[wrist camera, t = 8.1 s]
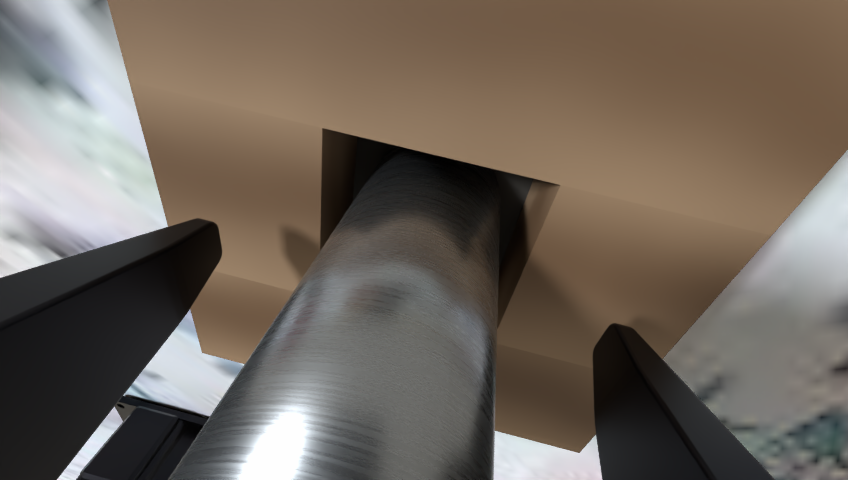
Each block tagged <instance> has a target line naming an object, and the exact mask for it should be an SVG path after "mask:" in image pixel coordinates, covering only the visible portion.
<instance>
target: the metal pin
mask: <svg viewBox="0 0 848 480" xmlns="http://www.w3.org/2000/svg"><path fill="white" fill-rule="evenodd" d="M500 200H501V199H500V188H499V184H498V181H497V178H496V175H495V173H494V172H493V170H492V168H487V167H483V166H479V165H475V164H471V163H467V162H462V161H458V160H454V159H450V158H446V157H442V156H437V155H433V154H429V153H425V152H421V151H416V150H412V149H408V148H404V147H400V146H395V147H393V148H392V149H391V150H389V151H388V152H387V153H386V154H385V155H384V156H383V158H382V159H381V161H380V162H379V163H378V165H377V166H376V168H375V169H374V171H373V172H372V174H371V175H370V177H369V178H368V180H367V181H366V183H365V184H364V186H363V187H362V189H361V190H360V192H359V193H358V195H357V196H356V198H355V199H354V201H353V202H352V204H351V205H350V207H349V208H348V210H347V211H346V213H345V214H344V216H343V217H342V219H341V220H340V222H339V223H338V225H337V227H336V228H335V230H334V231H333V233H332V234H331V236H330V237H329V239H328V240H327V242H326V243H325V245H324V246H323V248H322V249H321V251H320V252H319V254H318V255H317V257H316V258H315V260H314V261H313V263H312V264H311V266H310V267H309V269H308V270H307V272H306V273H305V275H304V276H303V278H302V279H301V281H300V282H299V284H298V285H297V287H296V288H295V290H294V291H293V293H292V294H291V296H290V297H289V299H288V300H287V302H286V303H285V305H284V306H283V308H282V309H281V311H280V312H279V314H278V315H277V317H276V318H275V320H274V321H273V323H272V324H271V326H270V327H269V329H268V330H267V332H266V333H265V335H264V336H263V338H262V339H261V341H260V342H259V344H258V345H257V347H256V348H255V350H254V351H253V353H252V354H251V356H250V357H249V359H248V360H247V362H246V363H245V365H244V366H243V368H242V369H241V371H240V372H239V374H238V375H237V377H236V378H235V380H234V381H233V383H232V384H231V386H230V387H229V389H228V390H227V392H226V393H225V395H224V396H223V398H222V399H221V401H220V402H219V404H218V405H217V407H216V408H215V410H214V411H213V413H212V414H211V416H210V417H209V419H208V420H207V422H206V423H205V425H204V426H203V428H202V429H201V431H200V432H199V434H198V435H197V437H196V438H195V440H194V441H193V443H192V444H191V446H190V447H189V449H188V450H187V452H186V453H185V455H184V456H183V458H182V459H181V461H180V462H179V464H178V465H177V467H176V468H175V470H174V471H173V473H172V474H171V476H170V477H169V479H168V480H493V475H494V436H495V397H496V358H497V318H498V279H499V240H500Z"/></svg>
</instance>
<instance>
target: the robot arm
mask: <svg viewBox="0 0 848 480" xmlns="http://www.w3.org/2000/svg"><path fill="white" fill-rule="evenodd" d="M221 257H222V245H221V239H220V233H219V228H218V225H217V224H216V223H215V222H213V221H209V220H205V219H200V218H196V219H192V220H189V221H185V222H182V223H179V224H176V225H172V226H169V227H166V228H163V229H159V230H156V231H153V232H149V233H146V234H143V235H140V236H136V237H133V238H130V239H126V240H123V241H120V242H117V243H113V244H110V245H107V246H103V247H100V248H97V249H94V250H90V251H87V252H84V253H81V254H77V255H74V256H71V257H67V258H64V259H61V260H58V261H54V262H51V263H48V264H44V265H41V266H38V267H35V268H31V269H28V270H25V271H21V272H18V273H15V274H12V275H8V276H5V277H2V278H0V480H57V479H58V478H59V476H60V475H61V474H62V472H63V471H64V470H65V469H66V467H67V466H68V465H69V464H70V462H71V461H72V460H73V458H74V457H75V456H76V455H77V453H78V452H79V451H80V450H81V448H82V447H83V446H84V444H85V443H86V442H87V441H88V439H89V438H90V437H91V436H92V434H93V433H94V432H95V430H96V429H97V428H98V427H99V425H100V424H101V423H102V421H103V420H104V419H105V418H106V416H107V415H108V414H109V413H110V411H111V410H112V409H113V407H114V406H115V408H116V409H117V411H118V413H119V415H120V417H121V418H122V420H123V423H122V424H121V425H120V426H119V427H118V429H117V430H116V431H115V432H114V433H113V434H112V436H111V437H110V438H109V439H108V440H107V441H106V443H105V444H104V445H103V446H102V447H101V449H100V450H99V451H98V452H97V453H96V454H95V456H94V457H93V458H92V459H91V460H90V462H89V463H88V464H87V465H86V466H85V467H84V469H83V470H82V471H81V473H80V475H79V476H78V478H77V479H76V480H168V479H169V477H170V476H171V474H172V473H173V471H174V470H175V468H176V467H177V465H178V464H179V462H180V461H181V459H182V458H183V456H184V455H185V453H186V452H187V450H188V449H189V447H190V446H191V444H192V443H193V441H194V440H195V438H196V437H197V435H198V434H199V432H200V431H201V429H202V428H203V426H204V425H205V423H206V422H207V420H208V419H205V418H202V417H198V416H195V415H191V414H187V413H184V412H180V411H176V410H173V409H169V408H165V407H162V406H158V405H154V404H151V403H147V402H143V401H140V400H136V399H132V398H129V397H125V396H123V395H124V393H125V392H126V391H127V390H128V388H129V387H130V386H131V385H132V383H133V382H134V381H135V379H136V378H137V377H138V376H139V374H140V373H141V372H142V371H143V369H144V368H145V367H146V365H147V364H148V363H149V362H150V360H151V359H152V358H153V357H154V355H155V354H156V353H157V351H158V350H159V349H160V348H161V346H162V345H163V344H164V342H165V341H166V340H167V339H168V337H169V336H170V335H171V334H172V332H173V331H174V330H175V328H176V327H177V326H178V325H179V323H180V322H181V321H182V319H183V318H184V317H185V315H186V314H187V312H188V311H189V309H190V308H191V306H192V305H193V303H194V302H195V300H196V299H197V297H198V295H199V294H200V292H201V290H202V289H203V287H204V286H205V284H206V282H207V281H208V279H209V278H210V276H211V274H212V273H213V271H214V270H215V268H216V266H217V265H218V263H219V262H220V260H221ZM593 393H594V420H595V429H596V437H597V444H598V451H599V458H600V465H601V472H602V479H603V480H775V479H774V478H773V477H772V476H771V475H770V474H769V473H768V472H767V471H766V470H765V469H764V467H763V466H762V465H761V464H760V463H759V462H758V461H757V460H756V459H755V458H754V457H753V456H752V455H751V454H750V453H749V451H748V450H747V449H746V448H745V447H744V446H743V445H742V444H741V443H740V442H739V441H738V440H737V439H736V438H735V436H734V435H733V434H732V433H731V432H730V431H729V430H728V429H727V428H726V427H725V426H724V425H723V424H722V423H721V421H720V420H719V419H718V418H717V417H716V416H715V415H714V414H713V413H712V412H711V411H710V410H709V409H708V408H707V406H706V405H705V404H704V403H703V402H702V401H701V400H700V399H699V398H698V397H697V396H696V395H695V394H694V393H693V392H692V390H691V389H690V388H689V387H688V386H687V385H686V384H685V383H684V382H683V381H682V380H681V379H680V378H679V377H678V375H677V374H676V373H675V372H674V371H673V370H672V369H671V368H670V367H669V366H668V365H667V364H666V363H665V362H664V360H663V359H662V358H661V357H660V356H659V355H658V354H657V353H656V352H655V351H654V350H653V349H652V348H651V347H650V345H649V344H648V343H647V342H646V341H645V340H644V339H643V338H642V337H641V336H640V335H639V334H638V333H637V332H636V331H635V330H634V329H633V328H632V327H629V326H626V325H622V324H618V323H612V324H610V325H609V326H608V328H607V329H606V331H605V332H604V333H603V335H602V336H601V338H600V339H599V341H598V342H597V344H596V345H595V347H594V350H593Z"/></svg>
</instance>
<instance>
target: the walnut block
mask: <svg viewBox="0 0 848 480" xmlns="http://www.w3.org/2000/svg"><path fill="white" fill-rule="evenodd" d="M108 4H109V8H110V12H111V15H112V19H113V23H114V26H115V30H116V34H117V38H118V41H119V45H120V49H121V53H122V56H123V60H124V64H125V67H126V71H127V75H128V79H129V82H130V86H131V90H132V93H133V97H134V101H135V105H136V108H137V112H138V116H139V120H140V123H141V127H142V131H143V134H144V138H145V142H146V146H147V149H148V153H149V157H150V160H151V164H152V168H153V172H154V175H155V179H156V183H157V187H158V190H159V194H160V198H161V201H162V205H163V209H164V213H165V216H166V220H167V224H168V227H169V226H172V225H176V224H179V223H182V222H185V221H189V220H192V219H196V218H200V219H205V220H209V221H213V222H215V223H216V224H217V225H218V228H219V233H220V239H221V245H222V257H221V260H220V262H219V263H218V265H217V266H216V268H215V270H214V271H213V273H212V274H211V276H210V278H209V279H208V281H207V282H206V284H205V286H204V287H203V289H202V290H201V292H200V294H199V295H198V297H197V299H196V300H195V302H194V303H193V305H192V306H191V308H190V309H191V313H192V317H193V321H194V324H195V328H196V332H197V335H198V339H199V343H200V347H201V350H202V353H205V354H209V355H213V356H216V357H220V358H224V359H228V360H231V361H235V362H239V363H243V364H245V363H246V362H247V360H248V359H249V357H250V356H251V354H252V353H253V351H254V350H255V348H256V347H257V345H258V344H259V342H260V341H261V339H262V338H263V336H264V335H265V333H266V332H267V330H268V329H269V327H270V326H271V324H272V323H273V321H274V320H275V318H276V317H277V315H278V314H279V312H280V311H281V309H282V308H283V306H284V305H285V303H286V302H287V300H288V299H289V297H290V296H291V294H292V293H293V291H294V290H295V288H296V287H297V285H298V284H299V282H300V281H301V279H302V278H303V276H304V275H305V273H306V272H307V270H308V269H309V267H310V266H311V264H312V263H313V261H314V260H315V258H316V257H317V255H318V254H319V252H320V251H321V249H322V248H323V246H324V245H325V243H326V242H327V240H328V239H329V237H330V236H331V234H332V233H333V231H334V230H335V228H336V227H337V225H338V223H339V222H340V220H341V219H342V217H343V216H344V214H345V213H346V211H347V210H348V208H349V207H350V205H351V204H352V202H353V201H354V199H355V198H356V196H357V195H358V193H359V192H360V190H361V189H362V187H363V186H364V184H365V183H366V181H367V180H368V178H369V177H370V175H371V174H372V172H373V171H374V169H375V168H376V166H377V165H378V163H379V162H380V161H381V159H382V158H383V156H384V155H385V154H386V153H387V152H388V151H389V150H391V149H392V148H393V147H395V146H400V147H404V148H408V149H412V150H416V151H421V152H425V153H429V154H433V155H437V156H442V157H446V158H450V159H454V160H458V161H462V162H467V163H471V164H475V165H479V166H483V167H487V168H492V170H493V172H494V173H495V175H496V178H497V181H498V184H499V188H500V199H501V200H500V240H499V279H498V318H497V358H496V397H495V431H499V432H502V433H506V434H510V435H514V436H517V437H521V438H525V439H529V440H532V441H536V442H540V443H544V444H548V445H551V446H555V447H559V448H563V449H566V450H570V451H574V452H578V453H580V452H581V450H582V449H583V448H584V447H585V446H586V445H587V444H588V443H589V441H590V440H591V439H592V438H593V437H594V436H595V435H596V429H595V420H594V393H593V350H594V347H595V345H596V344H597V342H598V341H599V339H600V338H601V336H602V335H603V333H604V332H605V331H606V329H607V328H608V326H609V325H610V324H612V323H618V324H622V325H626V326H629V327H632V328H633V329H634V330H635V331H636V332H637V333H638V334H639V335H640V336H641V337H642V338H643V339H644V340H645V341H646V342H647V343H648V344H649V345H650V347H651V348H652V349H653V350H654V351H655V352H656V353H657V354H658V355H659V356H660V357H661V358H662V359H663V358H664V357H665V355H666V354H667V353H668V352H669V351H670V350H671V349H672V348H673V346H674V345H675V344H676V343H677V342H678V341H679V340H680V338H681V337H682V336H683V335H684V334H685V333H686V332H687V331H688V329H689V328H690V327H691V326H692V325H693V324H694V323H695V322H696V320H697V319H698V318H699V317H700V316H701V315H702V314H703V312H704V311H705V310H706V309H707V308H708V307H709V306H710V305H711V303H712V302H713V301H714V300H715V299H716V298H717V297H718V296H719V294H720V293H721V292H722V291H723V290H724V289H725V288H726V286H727V285H728V284H729V283H730V282H731V281H732V280H733V279H734V277H735V276H736V275H737V274H738V273H739V272H740V271H741V269H742V268H743V267H744V266H745V265H746V264H747V263H748V262H749V260H750V259H751V258H752V257H753V256H754V255H755V254H756V253H757V251H758V250H759V249H760V248H761V247H762V246H763V245H764V243H765V242H766V241H767V240H768V239H769V238H770V237H771V236H772V234H773V233H774V232H775V231H776V230H777V229H778V228H779V227H780V225H781V224H782V223H783V222H784V221H785V220H786V219H787V217H788V216H789V215H790V214H791V213H792V212H793V211H794V210H795V208H796V207H797V206H798V205H799V204H800V203H801V202H802V201H803V199H804V198H805V197H806V196H807V195H808V194H809V193H810V191H811V190H812V189H813V188H814V187H815V186H816V185H817V184H818V182H819V181H820V180H821V179H822V178H823V177H824V176H825V175H826V173H827V172H828V171H829V170H830V169H831V168H832V167H833V165H834V164H835V163H836V162H837V161H838V160H839V159H840V158H841V156H842V155H843V154H844V153H845V152H846V151H847V150H848V0H108Z"/></svg>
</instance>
